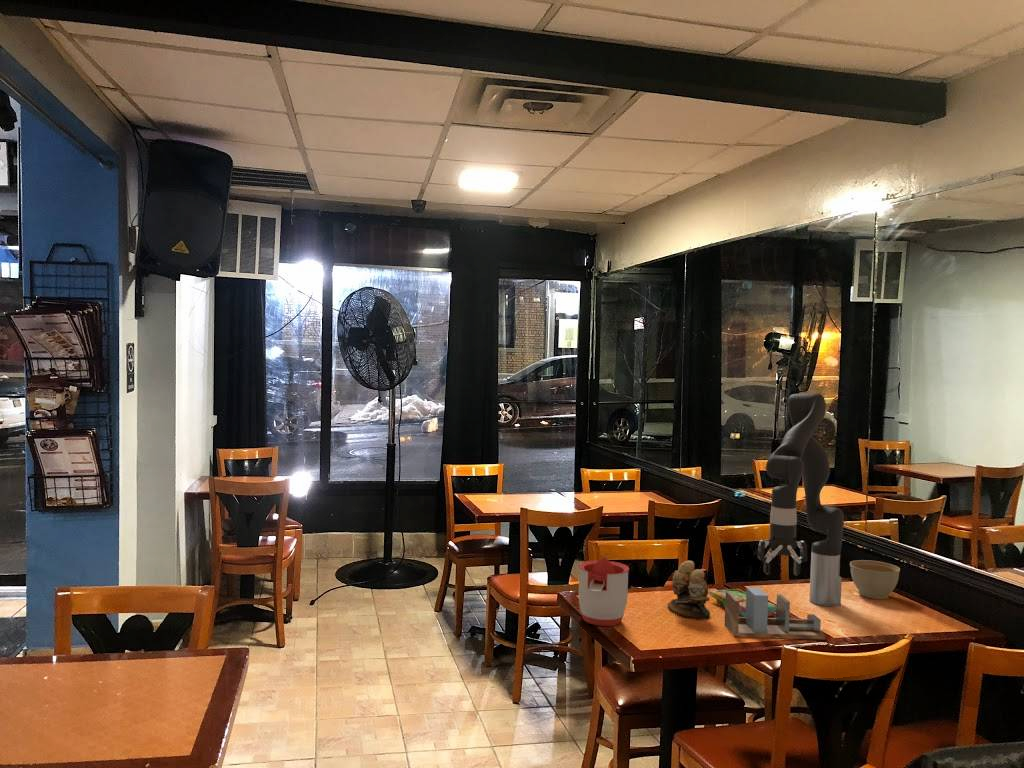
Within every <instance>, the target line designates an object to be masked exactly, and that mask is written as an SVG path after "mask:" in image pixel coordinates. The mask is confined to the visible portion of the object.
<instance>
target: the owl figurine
mask: <svg viewBox="0 0 1024 768" xmlns="http://www.w3.org/2000/svg"><path fill="white" fill-rule="evenodd" d="M695 565H696V564H695V562H694V561H693V560H686V561H683V562H682V563H681V564H680V566H679V567H678V570H675V571H674V572H673V576H672V580H671V581H672V582H671V585H672V592H673V594H674V595H676V597H677V598H674V599H671V600H670V601H669V602H668V603H667V610H668V611H669V612H671V611H672V612H673V613H672V612H671V613H672V614H674V613H675V614H674V615H676V614H677V615H676V616H678V615H679V617H680V616H681V617H680V618H683V617H684V619H687V620H696V621H698V620H701V619H706V620H707V619H710V617H711V611H710V610H709V609H708V608H707V607H706V603H707V602H709V601H710V597H709V596H708V594H709V586H708V585H707V582H706V581H705V576H706V573H705V572H704V571H703V570H701V569H698V568H697V569H695Z"/></svg>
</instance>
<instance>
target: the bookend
mask: <svg viewBox="0 0 1024 768" xmlns="http://www.w3.org/2000/svg"><path fill="white" fill-rule="evenodd" d="M775 606H776V611H775V612H776V613H775V618H776V624H777V625H778V626H779V627H780V628H781V629H782V630H783V631H784V632H789V629H793V630H813V631H821V622H822V621H821V618H819V617H818V616H816V615H815V614H814V613H813V614H811V613H810V614H809V613H808V614H807V615H806V619H807V624H789V619H790V614H791V613H790V612H791V611H790V610H791V609H790V608H791V601H790V600H789V599H787V598H786V597H785V596H784V595H782V594H780V593H779V594H777V593H776V605H775Z"/></svg>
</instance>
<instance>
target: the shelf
mask: <svg viewBox="0 0 1024 768" xmlns="http://www.w3.org/2000/svg"><path fill="white" fill-rule="evenodd" d="M789 624H807V618H789ZM724 626H725V628H726V627H727V628H728V629H727V628H726V629H727V630H728V631H729V632H730V633H732V634H733V635H734V636H745V637H744V638H761V637H779V638H778V639H794V638H798V639H799V640H800V639H801V640H803V639H804V640H826V635H825V634H824V633H823V632H822V631H821V630H820V631H813V630H793V629H789V632H784V631H783V630H782V629H781V628H780V627H779V626H778V625H777V624H776V617H767V632H753V631H752V630H751V629H750V628H749V627H748V625H747V624H746V623H745V617H742V616H740V615H739V600H738V599H737V598H736V597H735V596H734V595H733V594H732V593H731V592H730V591H726V599H725V607H724ZM732 634H731V635H732ZM733 635H732V636H733ZM734 636H733V637H734Z"/></svg>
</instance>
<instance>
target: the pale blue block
mask: <svg viewBox="0 0 1024 768" xmlns="http://www.w3.org/2000/svg"><path fill="white" fill-rule="evenodd" d="M745 592H746V617H745V623H746V624H747V625H748V627H749V628H750V629H751V630H752V631H753V632H767V618H769V617H768V602H769V595H768V594H767V593H766V592H765V591H764V590H763V589H762V588H760V587H746V591H745Z"/></svg>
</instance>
